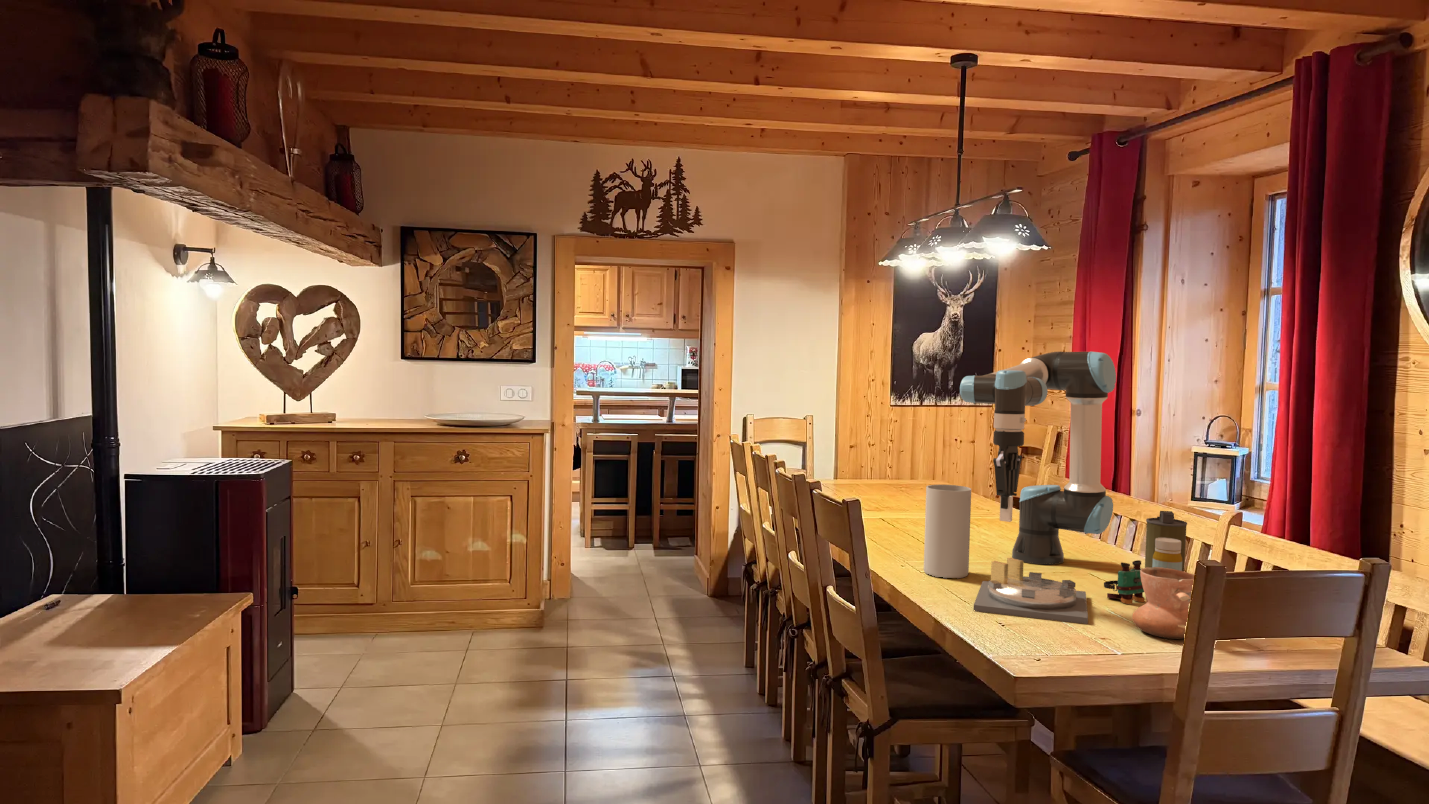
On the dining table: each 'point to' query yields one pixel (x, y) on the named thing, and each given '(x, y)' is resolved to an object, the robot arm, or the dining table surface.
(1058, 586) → the oval turntable platform
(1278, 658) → the dining table surface
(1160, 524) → the canister
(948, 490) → the cylinder vase
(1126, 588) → the binoculars
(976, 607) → the base board
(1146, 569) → the ceramic jug
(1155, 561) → the bottle
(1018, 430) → the robot arm
